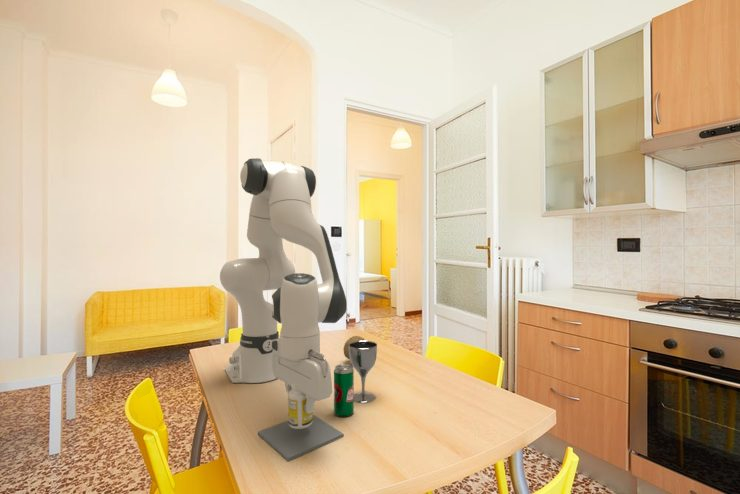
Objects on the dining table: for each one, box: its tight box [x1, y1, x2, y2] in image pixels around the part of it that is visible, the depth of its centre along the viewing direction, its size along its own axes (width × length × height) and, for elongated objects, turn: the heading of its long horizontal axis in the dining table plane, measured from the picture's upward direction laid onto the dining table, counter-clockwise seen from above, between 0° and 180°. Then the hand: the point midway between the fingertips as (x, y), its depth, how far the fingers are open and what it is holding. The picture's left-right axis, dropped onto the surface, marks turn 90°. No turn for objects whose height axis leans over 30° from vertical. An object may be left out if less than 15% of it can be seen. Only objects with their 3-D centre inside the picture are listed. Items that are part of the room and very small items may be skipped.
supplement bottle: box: [287, 382, 314, 429], centre depth 82 cm, size 5×5×10 cm
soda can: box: [333, 363, 355, 418], centre depth 93 cm, size 5×5×12 cm
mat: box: [257, 414, 345, 462], centre depth 83 cm, size 14×14×1 cm
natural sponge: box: [343, 335, 367, 361], centre depth 132 cm, size 9×9×10 cm
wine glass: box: [349, 340, 378, 404], centre depth 103 cm, size 8×8×15 cm
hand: (300, 406), depth 83 cm, fingers closed on supplement bottle, 5 cm apart
